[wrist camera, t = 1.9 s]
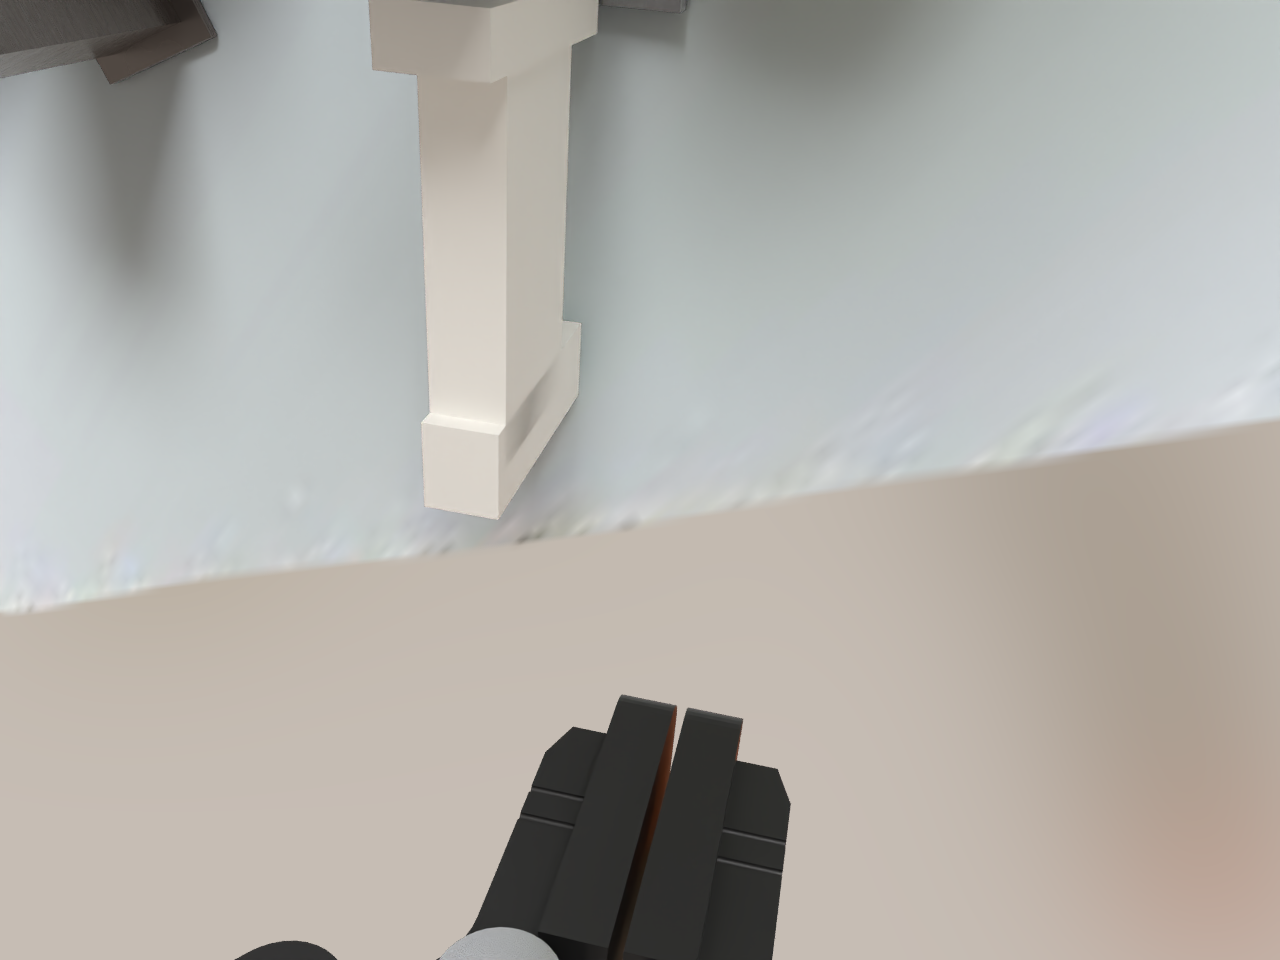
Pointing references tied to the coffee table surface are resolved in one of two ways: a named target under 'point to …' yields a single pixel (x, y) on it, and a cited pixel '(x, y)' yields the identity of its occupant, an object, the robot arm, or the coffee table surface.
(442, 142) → the gate
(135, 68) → the post
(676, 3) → the post
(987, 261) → the coffee table surface
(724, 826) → the robot arm
